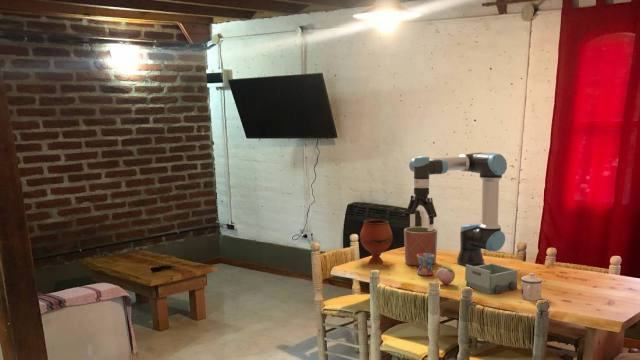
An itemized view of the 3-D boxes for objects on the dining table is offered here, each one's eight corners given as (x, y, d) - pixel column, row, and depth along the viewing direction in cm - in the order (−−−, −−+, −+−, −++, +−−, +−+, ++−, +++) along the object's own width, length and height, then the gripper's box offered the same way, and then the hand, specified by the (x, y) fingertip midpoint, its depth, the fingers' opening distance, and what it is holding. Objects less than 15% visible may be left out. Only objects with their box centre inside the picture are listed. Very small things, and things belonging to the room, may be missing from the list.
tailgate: (466, 280, 260) (467, 264, 260) (489, 287, 247) (490, 271, 247) (464, 280, 259) (465, 264, 259) (487, 288, 247) (488, 271, 246)
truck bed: (489, 279, 271) (489, 262, 271) (519, 288, 255) (520, 270, 254) (463, 284, 262) (464, 267, 262) (493, 295, 246) (494, 276, 245)
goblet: (394, 266, 299) (394, 223, 296) (361, 267, 299) (360, 224, 296) (390, 258, 318) (390, 218, 315) (359, 258, 318) (358, 218, 316)
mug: (427, 277, 276) (427, 258, 275) (413, 274, 283) (413, 255, 282) (440, 273, 284) (440, 254, 283) (426, 270, 291) (426, 251, 290)
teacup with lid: (522, 293, 248) (523, 269, 246) (543, 296, 243) (543, 272, 242) (517, 300, 238) (517, 275, 236) (538, 304, 233) (539, 278, 232)
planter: (430, 269, 293) (430, 234, 291) (398, 264, 303) (398, 230, 301) (441, 261, 309) (442, 228, 307) (411, 257, 319) (411, 225, 317)
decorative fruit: (458, 284, 263) (458, 265, 262) (450, 288, 258) (450, 268, 257) (441, 280, 270) (442, 262, 269) (433, 284, 264) (433, 265, 263)
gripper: (400, 185, 272) (400, 225, 274) (432, 189, 250) (432, 233, 253) (411, 184, 276) (411, 224, 278) (444, 188, 254) (443, 231, 256)
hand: (421, 228), depth 265 cm, fingers open, 13 cm apart
